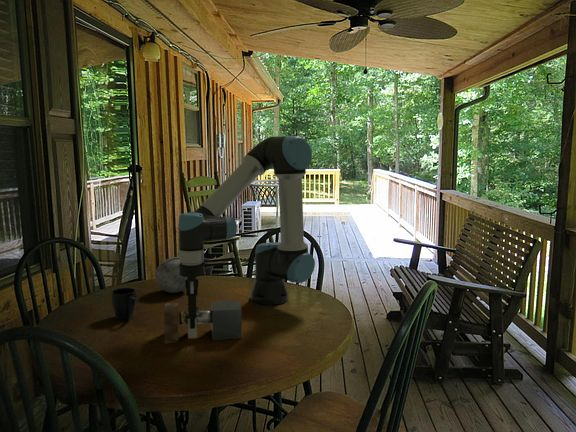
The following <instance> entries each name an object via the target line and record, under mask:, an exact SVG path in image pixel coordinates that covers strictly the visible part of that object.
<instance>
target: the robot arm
mask: <svg viewBox="0 0 576 432" xmlns="http://www.w3.org/2000/svg"><path fill="white" fill-rule="evenodd" d="M312 158H313V152H312V148H311V145H310V143H309V142H308V141H307V140H306V138H304V137H302V136H297V135H296V136H295V135H287V136H285V135H283V136H269V137H267V138H265V139H263V140H261V141H260V142H259V143H257V144H256V145H255V146H253V148H251V149H250V150H249V151H248V153H246V155H245V156H244V157H243V161H242V163H240V165H238V166H237V167H236V168H235V170H234V171H233V172H231V174H230V175H229V176H228V177H227V178H226V179H225V180H224V181H223V182H221V184H220V185H219V186H218V187H217V188H216V190H214V192H212V193H211V194H210V195H209V197H207V199H205V200H204V202H203V203H202V204H201V205H200V206H199V207H198V208H197V209H196V210H195V211H190V212H185V213H184V212H183V213H181V214H179V217H178V225H177V226H178V227H177V230H178V252H176V255H177V256H178V257H179V261H180V262H181V263H180V264H179V274H180V275H181V276H183V277H188V278H187V280H185V287H186V288H185V289H186V291H185V292H186V297H187V299H188V300H187V310H188V311H187V312H188V316H186V319H188V325H187V338H188V339H195V338H198V324H197V315H196V311H199V306H197V296H198V291H199V289H198V288H199V279H198V278H197V277H201V276H203V275H204V274H205V263H204V261H205V252H204V251H205V249H204V247H205V245H204V244H205V243H210V242H217V241H227V240H231V239H233V238H235V237H236V235H237V233H238V224H237V221H236V218H234V217H232V216H226V215H225V216H222V215H223V214H224V213H225V212H226V210H227V209H229V207H230V206H232V204H233V203H234V202H236V200H237V199H238V198H239V197H240V196H241V195H242V193H244V191H245V190H246V189H247V188H248V187H249V186H250V185H251V184H252V183H253V181H255V180H256V179H257V178H258V176H263V175H264V174H265V173H266V172H267V171H269V170H270V169H273V174H274V176H275V177H276V178H277V179H278V198H279V200H278V202H279V203H278V204H279V224H280V225H279V226H280V242H278V241H274V242H262V243H259V244H257V245H256V246H255V251H254V252H255V253H254V255H255V256H254V258H255V259H254V260H255V261H254V262H255V263H254V265H255V269H254V271H255V272H254V273H255V275H254V276H255V278H254V279H255V280H254V283H253V286H252V289H251V292H250V300H251V301H252V302H253V303H255V304H259V305H269V306H271V305H279V304H283V303H286V302H288V300H289V292H288V289H287V285H286V283H285V281H288V282H290V283H296V284H302V283H305V282H306V281H308V280H309V279H310V278H311V276H312V275H313V273H314V271H315V266H316V261H315V260H316V259H315V258H314V256H313V255H312V254H311V253H309V244H307V243H306V242H305V238H304V237H305V235H304V231H305V230H304V210H303V209H304V206H303V177H305V175H306V171H307V168H308V167H309V166H310V165H311V164H310V163H311V162H312V160H313V159H312Z"/></svg>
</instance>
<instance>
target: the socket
mask: <svg viewBox="0 0 576 432" xmlns="http://www.w3.org/2000/svg"><path fill="white" fill-rule="evenodd" d="M179 326H180V325H179V303H178V302H170V303H169V302H168V303H165V305H164V311H163V328H164V329H163V330H164V331H163V332H164V337H163V338H164V339H163V340H164V344H178V343H179V334H180V333H179V332H180V329H179V328H180V327H179Z"/></svg>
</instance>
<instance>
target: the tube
mask: <svg viewBox="0 0 576 432" xmlns="http://www.w3.org/2000/svg"><path fill="white" fill-rule="evenodd" d="M178 312H179V311H178ZM196 315H197V325H201V324H204V325H205V324H211V323H212V310H211V309H210V310H196ZM186 316H188V311H180V312H179V326H186V325H187V326H188V319H186Z"/></svg>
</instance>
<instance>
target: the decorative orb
mask: <svg viewBox="0 0 576 432" xmlns="http://www.w3.org/2000/svg"><path fill="white" fill-rule="evenodd" d="M180 263H181V262H180V261H179V256H178V257H177V256H174V257H170V258H167V259H165V260H163V261H162V262H161V263H160V264H159V265H158V267H157V268H156V269H155V273H154V277H155V281H156V284H157V285H158V287H159V288H160V289H162V290H163V291H164V292H165V293H166V292H167V293H169V294H177V293H180V292H182V291H185V289H186V287H185V280H187V278H188V277H183V276H181V275H180V274H179V264H180Z"/></svg>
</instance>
